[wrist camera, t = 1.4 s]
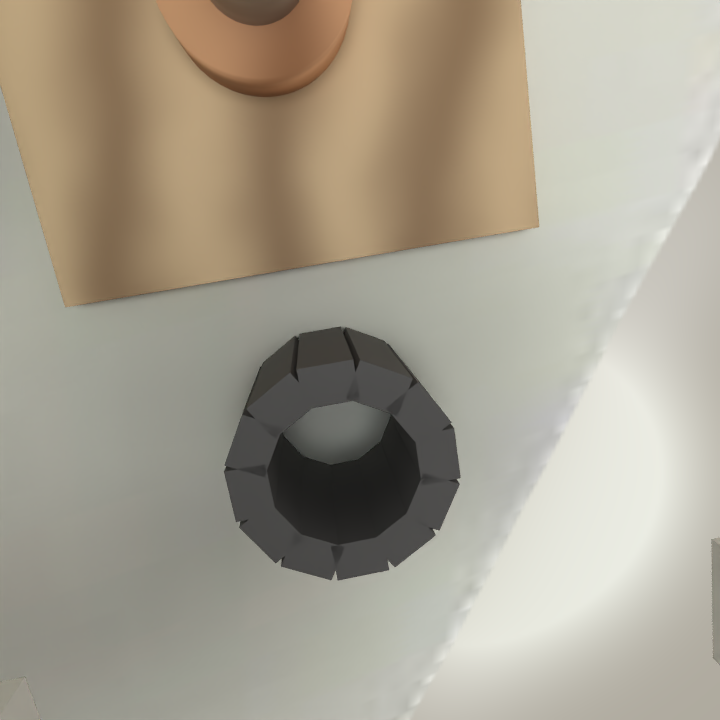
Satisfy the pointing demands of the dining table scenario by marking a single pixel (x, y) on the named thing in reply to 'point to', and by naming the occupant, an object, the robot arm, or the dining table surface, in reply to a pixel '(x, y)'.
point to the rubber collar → (344, 480)
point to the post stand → (263, 133)
